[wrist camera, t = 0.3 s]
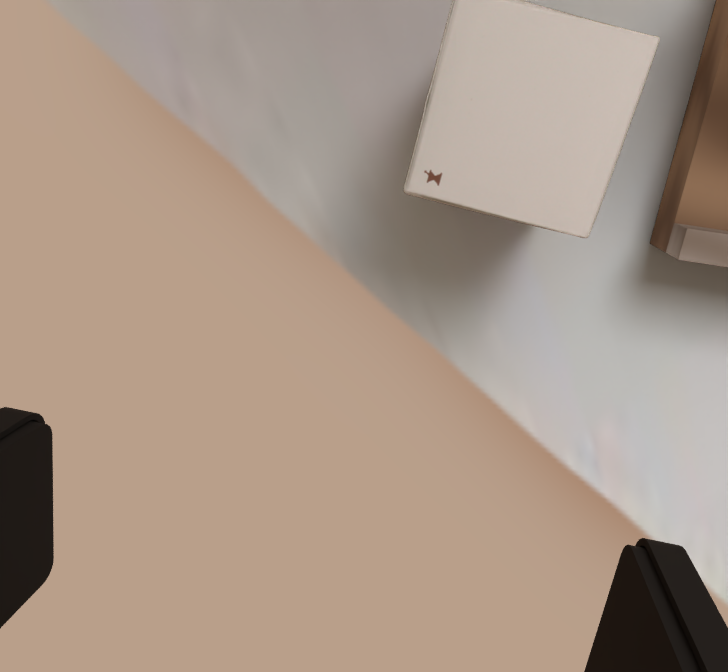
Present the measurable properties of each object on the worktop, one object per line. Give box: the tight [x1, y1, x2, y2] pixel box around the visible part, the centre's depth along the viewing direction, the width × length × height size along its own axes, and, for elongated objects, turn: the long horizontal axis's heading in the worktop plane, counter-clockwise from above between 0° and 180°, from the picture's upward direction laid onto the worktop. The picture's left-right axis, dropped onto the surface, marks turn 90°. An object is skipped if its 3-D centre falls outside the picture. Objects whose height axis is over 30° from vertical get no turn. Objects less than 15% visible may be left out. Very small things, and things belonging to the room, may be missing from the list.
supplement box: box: [403, 0, 660, 238], centre depth 28 cm, size 7×7×13 cm
